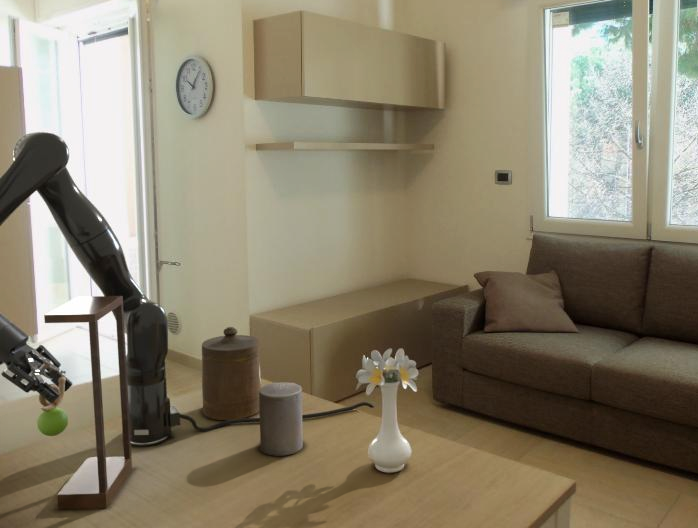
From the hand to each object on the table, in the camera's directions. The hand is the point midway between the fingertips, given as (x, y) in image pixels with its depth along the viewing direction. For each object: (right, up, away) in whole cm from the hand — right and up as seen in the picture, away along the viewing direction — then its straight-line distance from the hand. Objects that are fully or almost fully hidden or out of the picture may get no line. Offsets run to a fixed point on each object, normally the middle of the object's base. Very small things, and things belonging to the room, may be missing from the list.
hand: (62, 393), depth 135 cm
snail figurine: (-2, -8, +1) cm, 9 cm away
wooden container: (+24, -14, +44) cm, 52 cm away
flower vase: (+64, -18, +12) cm, 68 cm away
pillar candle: (+40, -17, +22) cm, 49 cm away
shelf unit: (+6, -20, +3) cm, 21 cm away
